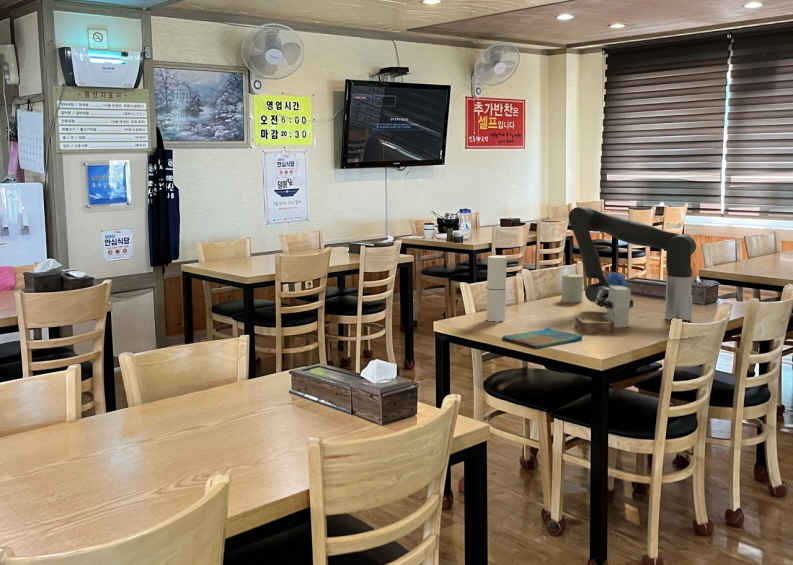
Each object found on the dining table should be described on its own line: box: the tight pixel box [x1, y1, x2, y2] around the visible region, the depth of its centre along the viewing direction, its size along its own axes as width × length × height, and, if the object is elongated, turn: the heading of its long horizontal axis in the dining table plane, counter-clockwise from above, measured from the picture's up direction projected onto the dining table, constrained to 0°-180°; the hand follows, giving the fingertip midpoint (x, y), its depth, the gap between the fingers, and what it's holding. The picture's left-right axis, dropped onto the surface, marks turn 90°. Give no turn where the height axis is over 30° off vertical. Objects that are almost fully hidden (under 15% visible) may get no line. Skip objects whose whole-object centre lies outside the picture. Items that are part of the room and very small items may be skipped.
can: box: [560, 273, 584, 304], centre depth 352 cm, size 9×9×12 cm
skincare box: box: [606, 286, 632, 329], centre depth 300 cm, size 8×6×15 cm
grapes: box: [606, 271, 629, 288], centre depth 359 cm, size 12×7×12 cm, turn 43°
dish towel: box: [501, 326, 583, 350], centre depth 276 cm, size 17×23×2 cm
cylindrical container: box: [486, 255, 508, 323], centre depth 308 cm, size 7×7×25 cm
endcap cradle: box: [574, 316, 615, 335], centre depth 292 cm, size 11×11×4 cm
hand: (620, 305), depth 297 cm, fingers open, 6 cm apart
